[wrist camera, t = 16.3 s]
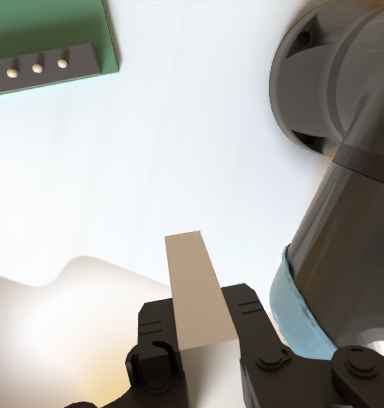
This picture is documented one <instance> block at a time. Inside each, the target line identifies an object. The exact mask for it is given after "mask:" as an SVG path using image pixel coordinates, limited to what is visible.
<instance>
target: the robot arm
mask: <svg viewBox="0 0 384 408" xmlns="http://www.w3.org/2000/svg"><path fill="white" fill-rule="evenodd" d="M269 97H270V104H271V108H272V112H273V114H274V117H275V119H276V122H277V123H278V125H279V127H280V128H281V130H282V131H283V132H284V134H285V135H286V136H287V137H288V138H289V139H290V140H291V141H293V142H294V143H295V144H297V145H298V146H300V147H302V148H304V149H307V150H309V151H311V152H314V153H316V154H320V155H324V156H332V157H334V158H333V160H332V161H331V163H330V165H329V167H328V169H327V171H326V173H325V175H324V177H323V179H322V181H321V183H320V185H319V188H318V190H317V192H316V194H315V196H314V198H313V200H312V202H311V204H310V206H309V208H308V210H307V212H306V214H305V216H304V218H303V220H302V222H301V224H300V226H299V228H298V230H297V232H296V234H295V236H294V238H293V240H292V242H291V244H289V245H288V246H286V247H285V249H284V251H283V254H282V262H281V264H280V267H279V269H278V271H277V274H276V276H275V278H274V281H273V283H272V286H271V289H270V307H271V311H272V314H273V317H274V319H275V321H276V323H277V324H278V326H279V331H280V332H281V334H282V336H283V337H284V339H285V340H286V342H287V343H288V345H289V346H290V347H288V346H286V345H284V344H283V343H282V342H281V340H280V339H279V337H278V335H277V333H276V331H275V329H274V327H273V325H272V323H271V321H270V319H269V317H268V315H267V313H266V312H265V311H264V308H263V306H262V304H261V302H260V300H259V298H258V296H257V294H256V292H255V291H254V290H253V289H252V288H250V287H249V286H248V285H246V284H245V283H243V284H238V285H233V286H227V287H222V288H220V285H219V283H218V280H217V277H216V274H215V272H214V269H213V266H212V263H211V261H210V258H209V255H208V252H207V250H206V247H205V244H204V241H203V239H202V236H201V233H200V231H194V232H188V233H183V234H177V235H171V236H165V243H166V251H167V259H168V267H169V275H170V283H171V290H172V298H169V299H163V300H158V301H153V302H148V303H144V305H143V307H142V308H141V310H140V312H139V313H138V344H137V345H136V346H134V347H133V348H132V349H131V351H130V352H129V353H128V355H127V358H126V361H125V365H126V368H127V373H128V377H129V380H130V384H131V387H130V389H129V390H128V391H127V392H126V393H125V394H124V395H122V396H121V397H120V398H118V399H117V400H115V401H113V402H111V403H109V404H107V405H105V406H104V407H101V408H384V0H334V1H331V2H329V3H326V4H324V5H321V6H319V7H317V8H315V9H314V10H312V11H310V12H309V13H307V14H306V15H305V16H303V17H302V18H301V19H300V20H299V21H298V22H297V23H296V24H295V25H294V26H293V27H292V28H291V29H290V31H289V32H288V33H287V35H286V36H285V38H284V39H283V41H282V42H281V44H280V46H279V48H278V50H277V53H276V55H275V58H274V60H273V64H272V68H271V72H270V79H269ZM291 349H292V350H293V351H294V352H293V351H292V350H291ZM64 408H97V407H96V406H95V405H94V404H93V403H89V402H78V403H73V404H71V405H68V406H66V407H64Z"/></svg>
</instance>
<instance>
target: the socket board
mask: <svg viewBox="0 0 384 408" xmlns="http://www.w3.org/2000/svg"><path fill="white" fill-rule="evenodd" d="M116 72H119V70H118V66H117V62H116V58H115V54H114V49H113V45H112V41H111V37H110V33H109V29H108V25H107V21H106V17H105V12H104V8H103V4H102V0H0V95H3V94H8V93H13V92H18V91H24V90H29V89H34V88H39V87H44V86H49V85H54V84H60V83H65V82H70V81H75V80H80V79H85V78H91V77H96V76H101V75H106V74H111V73H116Z"/></svg>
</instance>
